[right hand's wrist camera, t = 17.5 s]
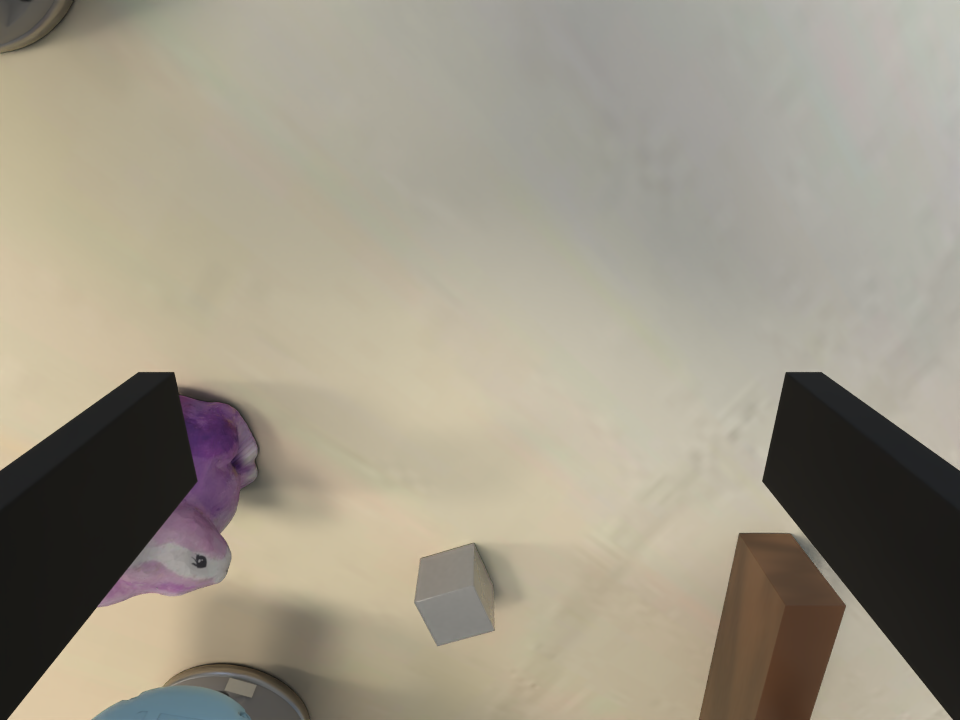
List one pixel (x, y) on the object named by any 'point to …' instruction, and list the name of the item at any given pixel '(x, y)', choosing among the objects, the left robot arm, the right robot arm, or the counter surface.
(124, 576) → the figurine
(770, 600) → the walnut block
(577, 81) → the counter surface
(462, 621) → the grey ceramic block
